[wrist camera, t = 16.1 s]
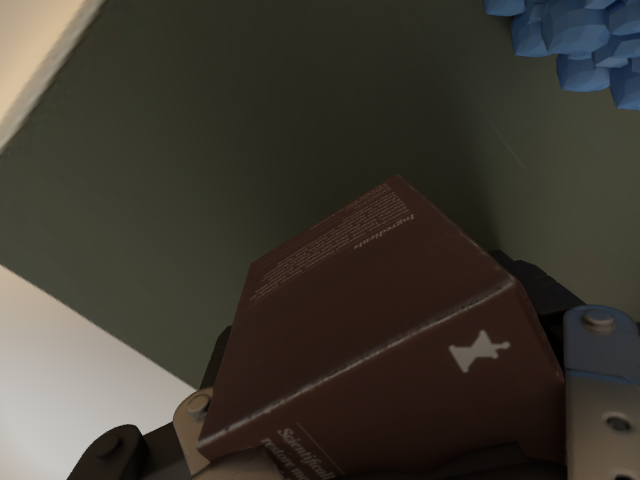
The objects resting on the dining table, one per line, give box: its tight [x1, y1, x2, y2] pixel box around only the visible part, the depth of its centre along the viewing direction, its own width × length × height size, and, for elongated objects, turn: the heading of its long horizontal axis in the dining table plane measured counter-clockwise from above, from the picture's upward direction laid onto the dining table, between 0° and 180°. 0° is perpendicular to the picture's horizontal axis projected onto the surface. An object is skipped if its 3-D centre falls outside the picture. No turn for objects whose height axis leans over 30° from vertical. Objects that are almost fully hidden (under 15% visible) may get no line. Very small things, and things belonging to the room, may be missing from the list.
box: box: [196, 175, 565, 480], centre depth 10 cm, size 6×6×7 cm
